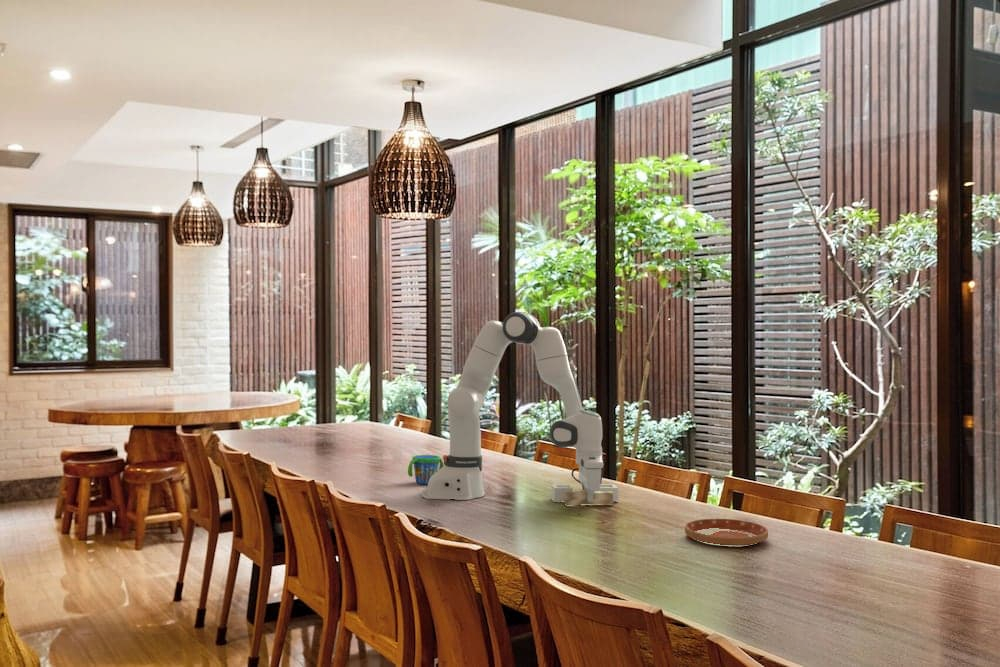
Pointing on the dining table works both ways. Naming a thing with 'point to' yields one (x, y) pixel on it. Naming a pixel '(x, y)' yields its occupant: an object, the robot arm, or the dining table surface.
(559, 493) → the endcaps
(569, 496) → the slat
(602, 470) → the coffee mug
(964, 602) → the dining table surface
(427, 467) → the snack cup
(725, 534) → the saucer
